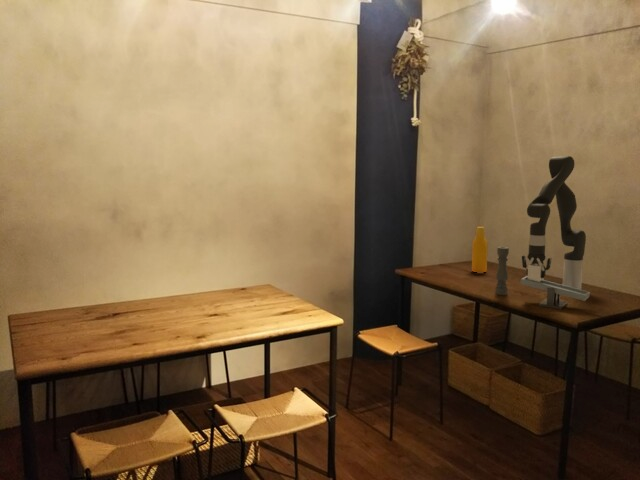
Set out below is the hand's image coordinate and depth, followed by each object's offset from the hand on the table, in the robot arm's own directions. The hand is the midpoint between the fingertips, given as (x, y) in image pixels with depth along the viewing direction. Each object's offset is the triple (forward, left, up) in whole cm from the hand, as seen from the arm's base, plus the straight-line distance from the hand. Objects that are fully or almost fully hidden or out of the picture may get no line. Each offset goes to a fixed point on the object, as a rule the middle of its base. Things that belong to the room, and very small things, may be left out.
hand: (535, 277), depth 263 cm
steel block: (0, 0, -2) cm, 2 cm away
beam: (0, +9, -6) cm, 11 cm away
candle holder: (-7, -19, -13) cm, 24 cm away
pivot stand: (0, +9, -13) cm, 16 cm away
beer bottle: (-55, -50, -13) cm, 75 cm away
